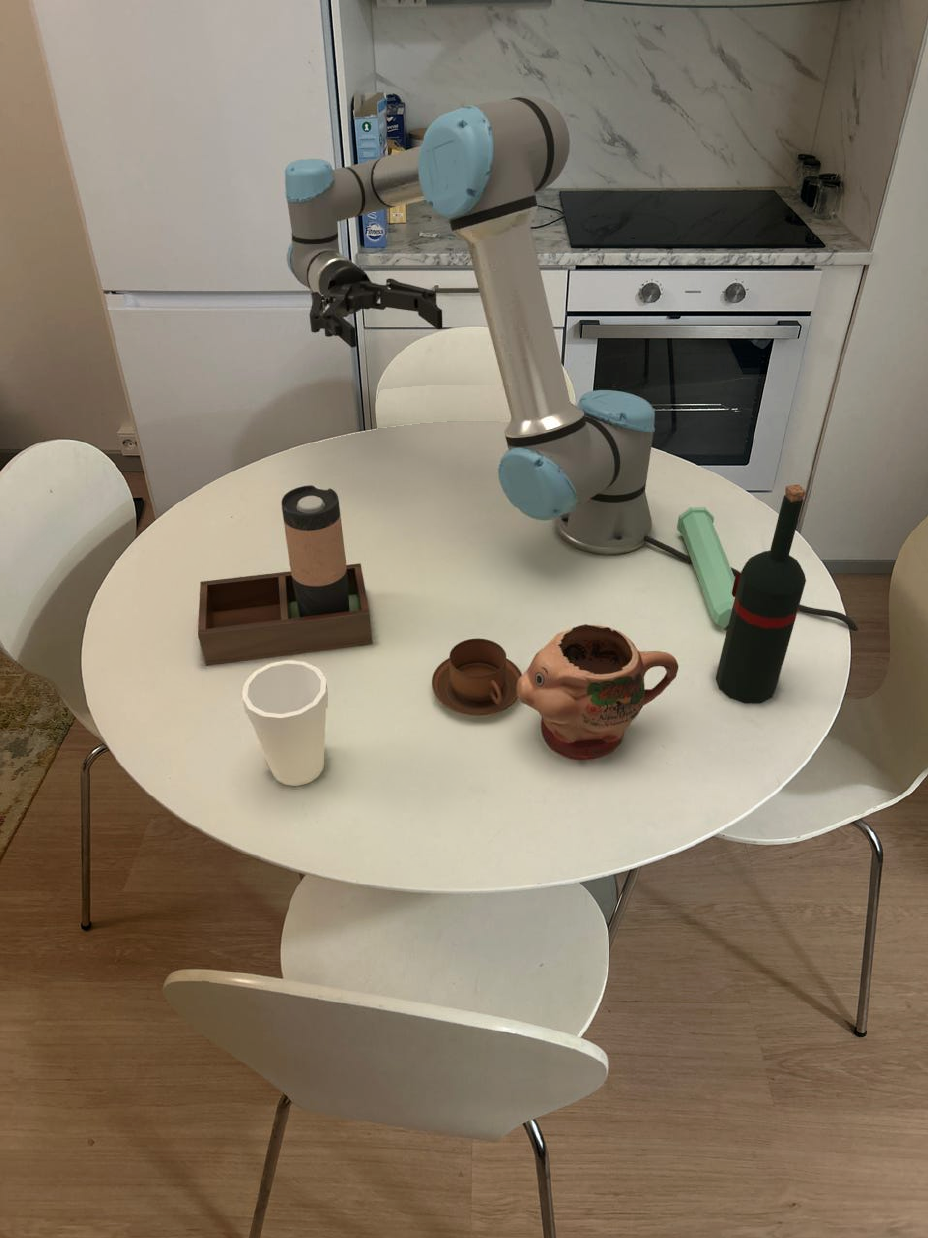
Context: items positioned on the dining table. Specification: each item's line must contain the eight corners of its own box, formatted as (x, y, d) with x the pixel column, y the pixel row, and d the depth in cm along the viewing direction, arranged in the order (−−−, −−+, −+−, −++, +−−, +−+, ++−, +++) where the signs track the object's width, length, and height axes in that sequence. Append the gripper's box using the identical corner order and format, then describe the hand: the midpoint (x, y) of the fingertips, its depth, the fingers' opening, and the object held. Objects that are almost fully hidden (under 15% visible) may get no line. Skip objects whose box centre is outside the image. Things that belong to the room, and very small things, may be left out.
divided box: (372, 644, 129) (369, 613, 125) (205, 665, 125) (197, 634, 122) (363, 593, 138) (360, 563, 134) (207, 611, 135) (200, 581, 131)
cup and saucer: (541, 690, 121) (543, 655, 117) (480, 738, 114) (481, 703, 111) (474, 649, 128) (475, 615, 124) (413, 693, 121) (411, 658, 117)
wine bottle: (748, 648, 128) (797, 457, 109) (787, 697, 120) (846, 501, 101) (697, 658, 126) (737, 466, 107) (733, 709, 118) (783, 512, 99)
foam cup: (262, 739, 114) (246, 662, 106) (337, 735, 115) (327, 657, 107) (255, 799, 107) (238, 720, 99) (335, 793, 108) (324, 715, 100)
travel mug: (309, 641, 128) (291, 521, 115) (291, 611, 133) (272, 493, 121) (360, 625, 131) (348, 505, 118) (340, 596, 136) (326, 479, 123)
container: (749, 600, 126) (708, 501, 145) (707, 613, 128) (672, 513, 147) (757, 629, 130) (716, 529, 149) (716, 642, 131) (681, 541, 150)
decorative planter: (643, 684, 122) (657, 601, 113) (686, 748, 113) (704, 664, 104) (501, 714, 118) (504, 631, 109) (534, 784, 109) (539, 700, 100)
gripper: (412, 293, 152) (474, 337, 137) (268, 321, 142) (318, 371, 128) (410, 246, 147) (474, 287, 132) (261, 272, 138) (312, 318, 123)
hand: (397, 328), depth 130 cm, fingers open, 13 cm apart
